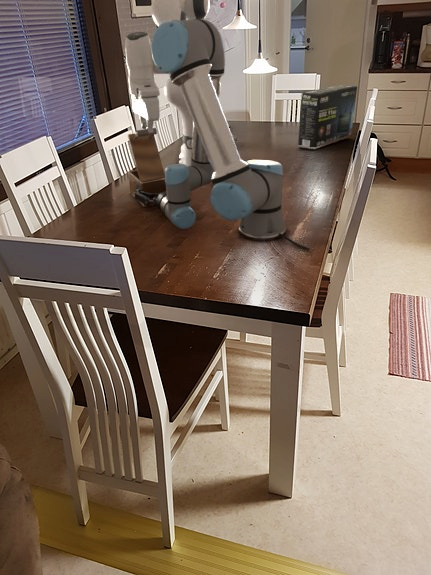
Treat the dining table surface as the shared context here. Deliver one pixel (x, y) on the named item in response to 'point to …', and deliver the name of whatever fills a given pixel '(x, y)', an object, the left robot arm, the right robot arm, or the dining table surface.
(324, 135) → the router box
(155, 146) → the lid
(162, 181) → the chest
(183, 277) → the dining table surface
